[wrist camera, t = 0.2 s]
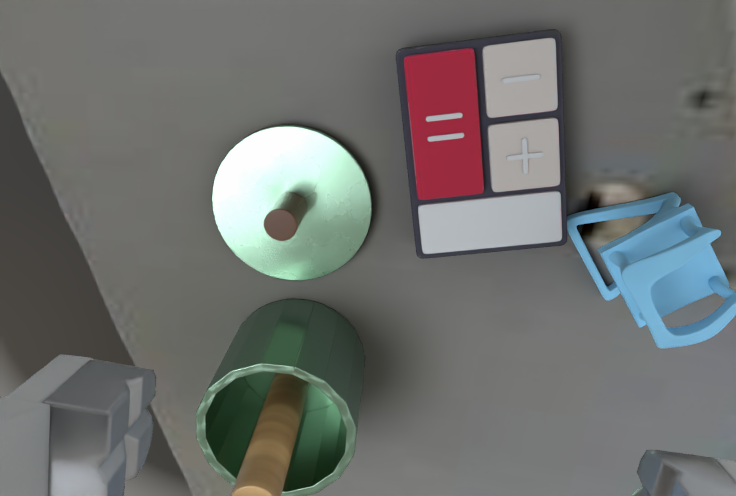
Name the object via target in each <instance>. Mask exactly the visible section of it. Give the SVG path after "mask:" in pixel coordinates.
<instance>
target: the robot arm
mask: <svg viewBox="0 0 736 496" xmlns="http://www.w3.org/2000/svg"><path fill="white" fill-rule="evenodd" d="M155 393H156V375H155V373H154V370H151V369H146V368H140V367H135V366H129V365H123V364H118V363H112V362H106V361H100V360H94V359H92V358H86V357H79V356H70V355H59V356H57V357H56V358H55V359H54V360H52V361H51V362H50V363H49V364H47V365H46V366H45V367H43V368H42V369H41V370H40V371H38V372H37V373H36V374H35V375H33V376H32V377H31V378H30V379H28V380H27V381H26V382H25V383H23V384H22V385H21V386H19V387H18V388H17V389H16V390H14V391H13V392H12V393H11V394H9V395H8V396H7V397H0V496H124V488H125V482H126V481H128V480H131V479H133V478H135V477H136V476H137V475H138V473H139V471H140V470H141V468H142V467H143V465H144V462H145V459H146V457H147V454H148V451H149V448H150V444H151V439H152V434H153V422H154V420H153V418H152V417H151V415H150V413H149V412H148V410H147V408H146V407H147V406H148V405H149V403H150V402H151V401H152V399H153V398H154V397H155ZM637 474H638V476H639V479H640V481H641V483H642V485H643V486H642V487H641V488H639V489H638V490H637V491H636V492H634V493H633V494H632V495H631V496H736V461H732V460H724V459H715V458H712V457H704V456H697V455H689V454H682V453H675V452H667V451H660V450H647V451H646V452H645V454H644V455H643V457H642V458H641V461H640V464H639V467H638V470H637Z"/></svg>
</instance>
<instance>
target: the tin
mask: <svg viewBox="0 0 736 496" xmlns="http://www.w3.org/2000/svg"><path fill="white" fill-rule="evenodd" d="M364 366H365V355H364V350H363V347H362V343H361V341H360V339H359V336H358V335H357V333H356V331H355V330H354V328H353V327H352V326H351V325H350V323H349V322H348V321H347V320H346V319H345V318H344V317H343V316H341V315H340V314H339V313H337V312H336V311H334V310H333V309H331V308H329V307H327V306H325V305H322V304H320V303H317V302H313V301H309V300H303V299H287V300H280V301H276V302H273V303H270V304H267V305H265V306H263V307H261V308H259V309H258V310H256V311H255V312H253V313H252V314H251V315H250V316H249V317H248V318H247V319H246V320H245V321H244V322H243V323H242V324H241V326H240V328H239V330H238V332H237V334H236V336H235V338H234V340H233V342H232V343H231V345H230V347H229V349H228V351H227V353H226V355H225V357H224V359H223V361H222V362H221V364H220V366H219V368H218V370H217V372H216V374H215V376H214V378H213V380H212V381H211V383H210V385H209V387H208V389H207V391H206V393H205V395H204V397H203V399H202V401H201V403H200V405H199V407H198V409H197V411H196V438H197V441H198V443H199V445H200V447H201V449H202V451H203V453H204V455H205V457H206V459H207V461H208V463H209V465H210V466H211V467H212V468H214V469H215V470H216V471H217V472H218V473H219V474H220V475H221V476H222V477H223V478H224V479H225V480H227V481H228V482H229V483H231V484H232V485H235V482H236V479H237V476H238V474H239V471H240V468H241V465H242V463H243V460H244V457H245V455H246V452H247V449H248V446H249V444H250V441H251V438H252V435H253V433H254V430H255V427H256V424H257V422H258V419H259V416H260V413H261V411H262V408H263V405H264V402H265V400H266V397H267V394H268V391H269V389H270V386H271V383H272V380H273V378H274V375H275V373H281V374H290V375H294V376H296V377H298V378H300V379H302V380H305V381H307V382H309V383H310V387H309V391H308V395H307V398H306V402H305V406H304V410H303V414H302V418H301V422H300V425H299V429H298V433H297V437H296V441H295V445H294V449H293V452H292V456H291V460H290V464H289V468H288V472H287V476H286V479H285V483H284V487H283V491H282V495H281V496H306V495H310V494H315V493H317V492H319V491H321V490H322V489H324V488H325V487H327V486H328V485H330V484H331V483H333V482H334V481H336V480H337V479H339V478H340V477H341V475H342V474H343V472H344V470H345V469H346V467H347V466H348V464H349V462H350V461H351V459H352V458H353V456H354V452H355V443H356V435H357V427H358V418H359V410H360V402H361V393H362V385H363V376H364Z"/></svg>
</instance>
